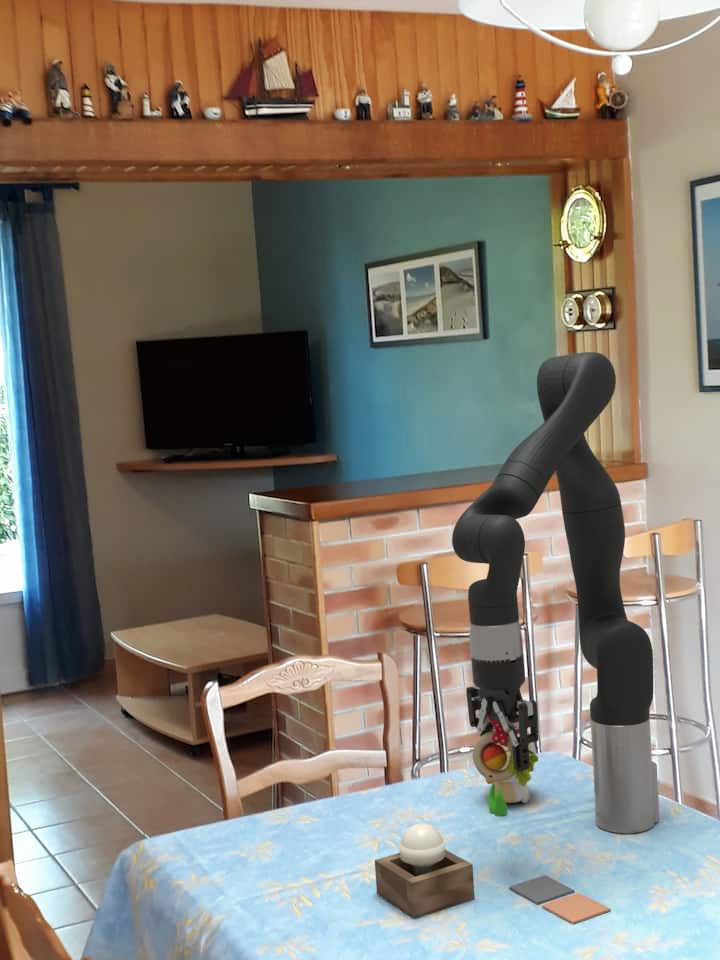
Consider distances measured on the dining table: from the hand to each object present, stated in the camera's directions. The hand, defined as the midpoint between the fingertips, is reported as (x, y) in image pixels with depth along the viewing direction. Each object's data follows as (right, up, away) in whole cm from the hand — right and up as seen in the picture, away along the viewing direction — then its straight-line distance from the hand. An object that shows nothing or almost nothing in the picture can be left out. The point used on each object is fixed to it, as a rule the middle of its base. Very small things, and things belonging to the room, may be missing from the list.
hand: (505, 763), depth 173 cm
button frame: (-12, -18, -4) cm, 22 cm away
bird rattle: (0, -3, +1) cm, 3 cm away
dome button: (-12, -15, -5) cm, 20 cm away
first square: (+4, -17, -5) cm, 18 cm away
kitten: (+5, -14, +31) cm, 34 cm away
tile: (+8, -17, -12) cm, 22 cm away
